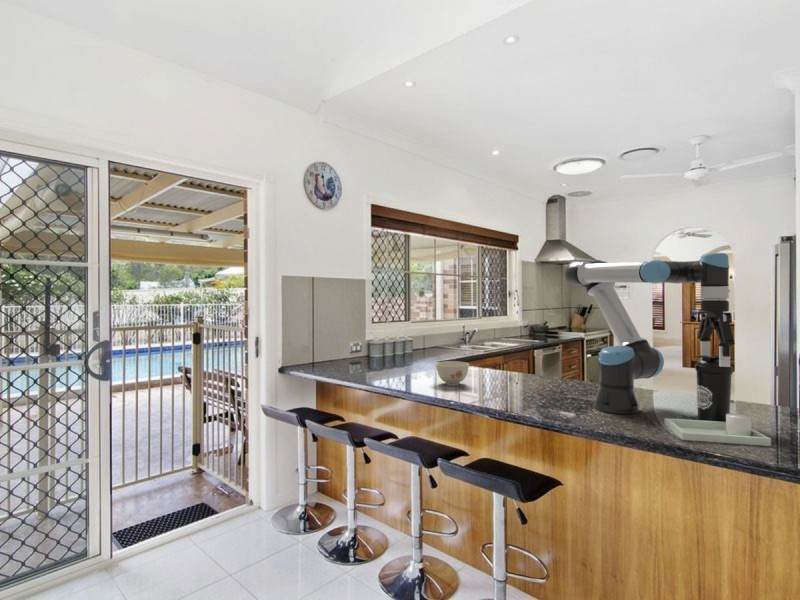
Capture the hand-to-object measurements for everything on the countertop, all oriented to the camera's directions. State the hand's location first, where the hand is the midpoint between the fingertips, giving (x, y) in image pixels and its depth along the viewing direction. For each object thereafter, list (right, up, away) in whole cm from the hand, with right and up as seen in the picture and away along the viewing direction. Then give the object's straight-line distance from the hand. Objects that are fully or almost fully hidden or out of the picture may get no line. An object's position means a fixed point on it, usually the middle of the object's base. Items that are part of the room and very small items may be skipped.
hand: (714, 363), depth 142 cm
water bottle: (0, -21, +1) cm, 21 cm away
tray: (-10, -21, -12) cm, 26 cm away
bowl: (-80, -20, +64) cm, 104 cm away
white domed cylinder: (-3, -20, -14) cm, 25 cm away
